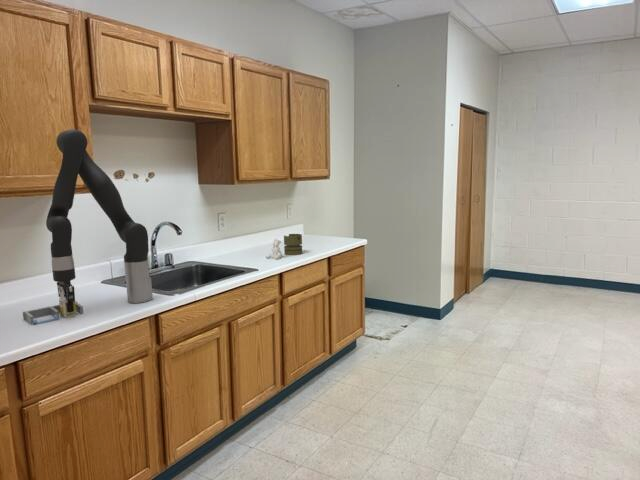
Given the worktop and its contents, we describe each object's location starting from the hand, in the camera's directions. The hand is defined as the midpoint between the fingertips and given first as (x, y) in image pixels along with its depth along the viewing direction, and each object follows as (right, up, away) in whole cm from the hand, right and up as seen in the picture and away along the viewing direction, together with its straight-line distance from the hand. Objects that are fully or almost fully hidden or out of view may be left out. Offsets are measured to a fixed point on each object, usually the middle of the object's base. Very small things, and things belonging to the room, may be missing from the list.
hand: (68, 310), depth 185 cm
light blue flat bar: (-4, -3, -7) cm, 9 cm away
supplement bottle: (0, -2, 0) cm, 2 cm away
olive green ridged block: (+80, +18, +118) cm, 144 cm away
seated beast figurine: (+70, +16, +105) cm, 127 cm away
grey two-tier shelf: (-5, -2, 0) cm, 6 cm away
